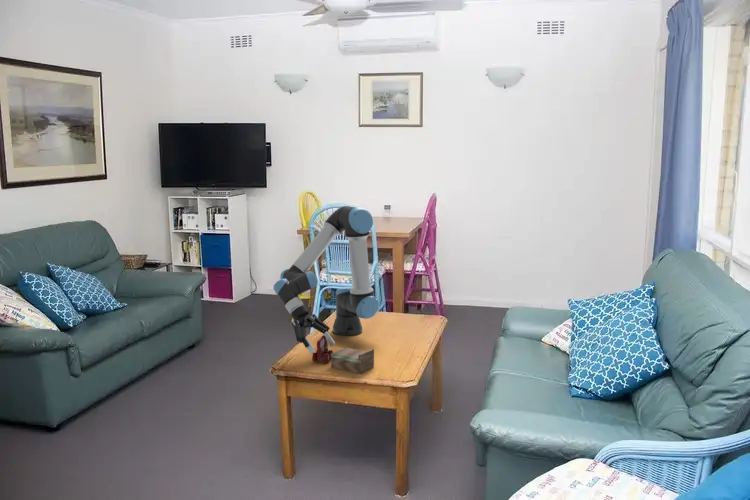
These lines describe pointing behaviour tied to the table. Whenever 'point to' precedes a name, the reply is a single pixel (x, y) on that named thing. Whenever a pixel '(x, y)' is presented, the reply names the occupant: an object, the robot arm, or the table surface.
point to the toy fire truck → (322, 351)
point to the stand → (353, 360)
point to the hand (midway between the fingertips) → (323, 348)
